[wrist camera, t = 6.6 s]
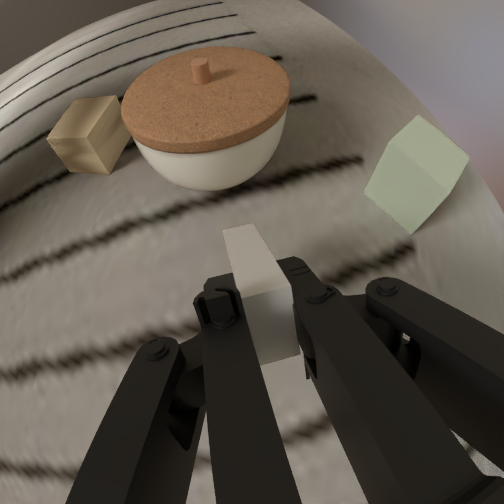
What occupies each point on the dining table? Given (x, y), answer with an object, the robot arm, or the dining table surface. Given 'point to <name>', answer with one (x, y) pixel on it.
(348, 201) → the dining table surface
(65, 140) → the beech block
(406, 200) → the sage block
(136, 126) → the lidded jar
